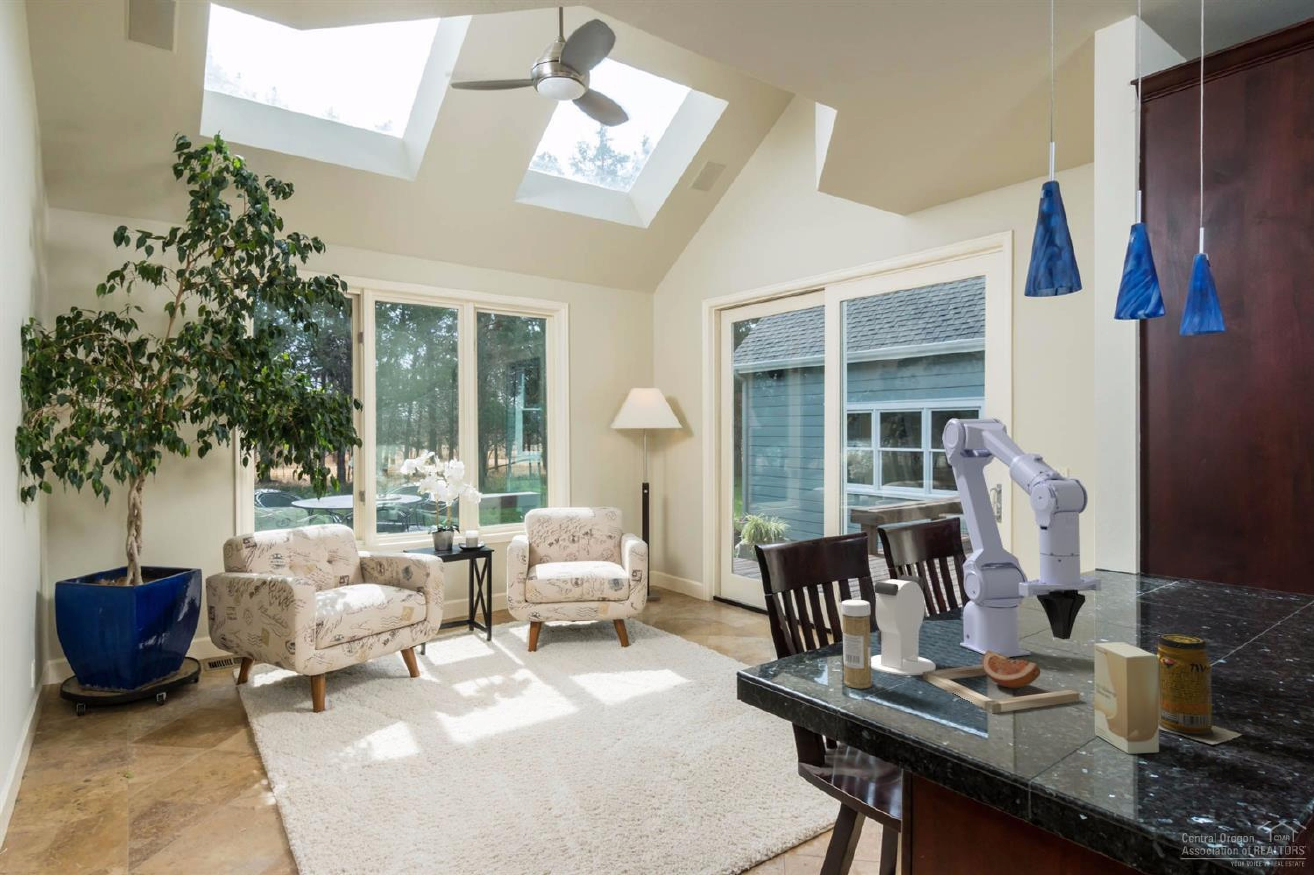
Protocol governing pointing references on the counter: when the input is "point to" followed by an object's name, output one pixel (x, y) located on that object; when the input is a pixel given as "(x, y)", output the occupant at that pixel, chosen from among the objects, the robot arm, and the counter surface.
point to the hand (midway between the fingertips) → (1061, 637)
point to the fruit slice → (1009, 670)
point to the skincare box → (1127, 697)
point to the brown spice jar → (856, 643)
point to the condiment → (1187, 690)
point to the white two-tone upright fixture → (900, 626)
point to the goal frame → (993, 706)
